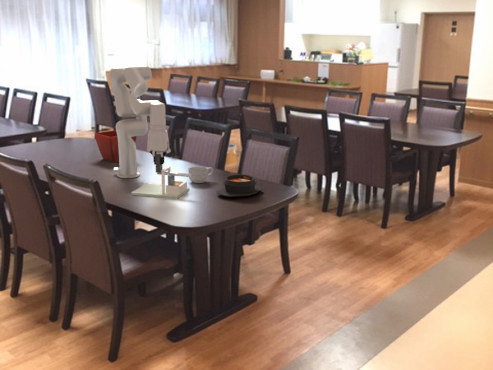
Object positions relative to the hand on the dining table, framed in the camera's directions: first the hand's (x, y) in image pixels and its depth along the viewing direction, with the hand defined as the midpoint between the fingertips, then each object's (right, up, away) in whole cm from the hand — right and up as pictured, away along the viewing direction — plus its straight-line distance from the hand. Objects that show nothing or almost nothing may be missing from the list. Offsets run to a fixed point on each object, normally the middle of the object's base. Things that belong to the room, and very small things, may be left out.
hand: (158, 163), depth 284 cm
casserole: (+40, -15, +3) cm, 43 cm away
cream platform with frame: (0, -14, +4) cm, 15 cm away
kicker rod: (+8, -13, +2) cm, 15 cm away
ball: (+9, -12, +1) cm, 15 cm away
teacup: (+19, -9, +24) cm, 32 cm away
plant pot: (-38, +5, +73) cm, 82 cm away
